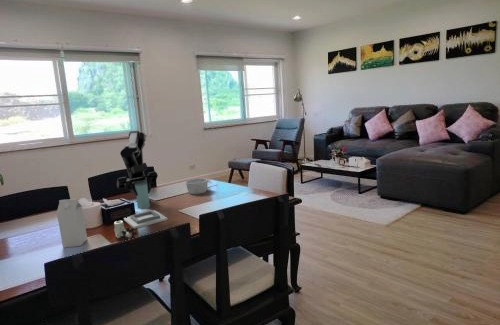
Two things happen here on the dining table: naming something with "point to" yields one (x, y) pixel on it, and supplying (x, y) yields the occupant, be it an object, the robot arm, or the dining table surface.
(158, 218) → the dock
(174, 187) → the dining table surface
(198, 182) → the ramekin
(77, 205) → the milk carton
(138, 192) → the cup
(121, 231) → the valve
